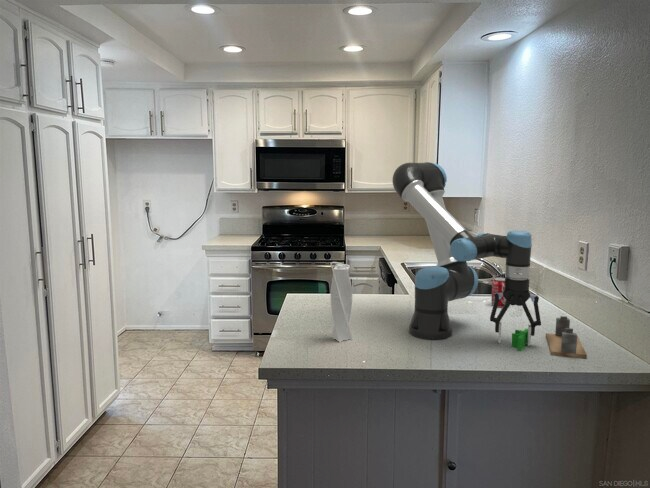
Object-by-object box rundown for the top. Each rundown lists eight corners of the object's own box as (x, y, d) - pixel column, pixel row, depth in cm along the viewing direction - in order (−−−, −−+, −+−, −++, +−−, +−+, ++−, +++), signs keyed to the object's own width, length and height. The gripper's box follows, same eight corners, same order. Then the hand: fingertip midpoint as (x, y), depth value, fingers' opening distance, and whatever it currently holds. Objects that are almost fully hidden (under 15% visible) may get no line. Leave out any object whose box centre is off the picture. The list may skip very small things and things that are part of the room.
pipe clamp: (517, 339, 168) (517, 327, 167) (528, 341, 166) (529, 328, 165) (509, 349, 158) (509, 335, 158) (521, 351, 156) (521, 338, 156)
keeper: (551, 354, 153) (552, 329, 152) (545, 336, 170) (547, 313, 168) (586, 358, 150) (588, 332, 148) (577, 339, 166) (579, 315, 165)
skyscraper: (337, 344, 165) (337, 263, 160) (326, 338, 171) (325, 260, 167) (356, 339, 169) (356, 261, 164) (344, 333, 175) (344, 258, 171)
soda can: (510, 305, 209) (511, 278, 207) (506, 309, 203) (507, 281, 202) (493, 303, 213) (494, 276, 211) (489, 306, 207) (490, 279, 205)
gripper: (483, 278, 160) (480, 343, 163) (553, 282, 152) (549, 350, 156) (483, 273, 167) (481, 336, 170) (551, 277, 159) (547, 342, 163)
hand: (513, 342), depth 163 cm, fingers open, 9 cm apart
